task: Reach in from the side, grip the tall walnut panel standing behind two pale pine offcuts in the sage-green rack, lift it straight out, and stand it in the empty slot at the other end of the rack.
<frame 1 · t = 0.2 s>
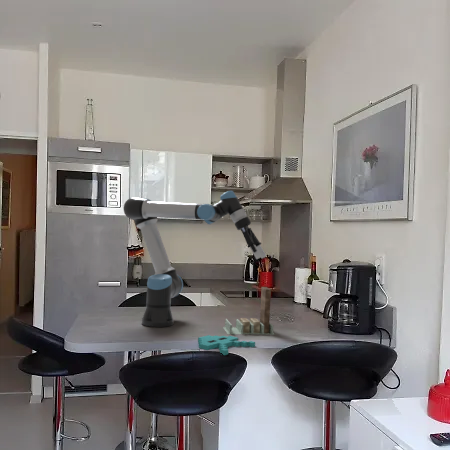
hand: (261, 257, 225), 35 cm above the worktop, tool tilted 35°, fingers open, 13 cm apart
pine offcut 1: (254, 330, 215), point 1 cm above the worktop, touching slot rack
alien figure: (221, 347, 191), on the worktop
walnut panel: (263, 330, 216), point 1 cm above the worktop, touching slot rack
slot rack: (248, 332, 215), on the worktop
pine offcut 2: (244, 330, 215), point 1 cm above the worktop, touching slot rack
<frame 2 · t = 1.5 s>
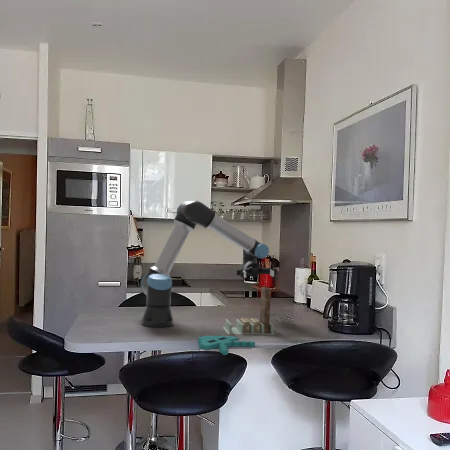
hand: (259, 274, 224), 26 cm above the worktop, tool horizontal, fingers open, 13 cm apart
nothing on the worktop moved.
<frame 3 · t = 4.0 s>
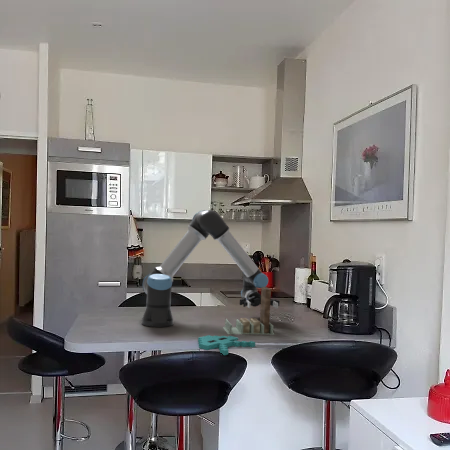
hand: (263, 305, 222), 12 cm above the worktop, tool horizontal, fingers open, 13 cm apart
nothing on the worktop moved.
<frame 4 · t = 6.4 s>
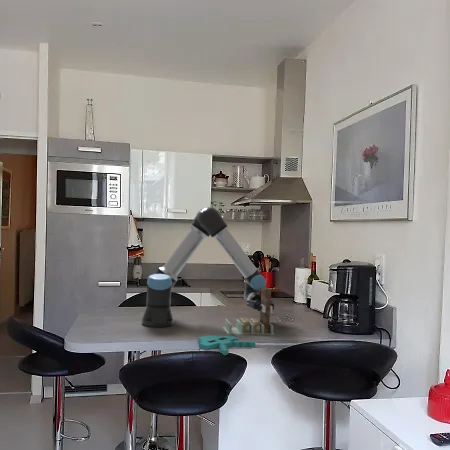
hand: (268, 309, 211), 12 cm above the worktop, tool horizontal, fingers closed on walnut panel, 2 cm apart
walnut panel: (263, 330, 216), point 1 cm above the worktop, touching gripper, slot rack
everything else where it was.
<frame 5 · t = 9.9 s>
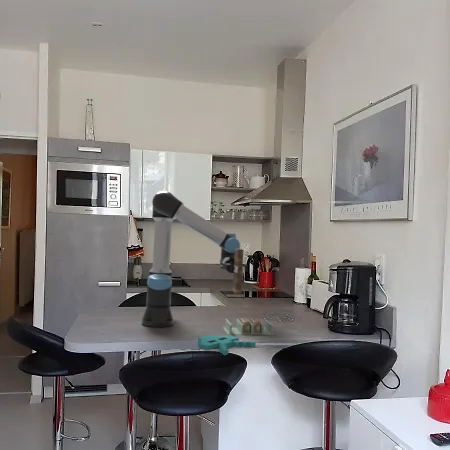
hand: (240, 269, 209), 30 cm above the worktop, tool horizontal, fingers closed on walnut panel, 2 cm apart
walnut panel: (236, 292, 214), point 19 cm above the worktop, touching gripper
everything else where it was.
when the fingers open (14 cm above the worktop, at t = 13.3 s): walnut panel drops 2 cm, resting on slot rack.
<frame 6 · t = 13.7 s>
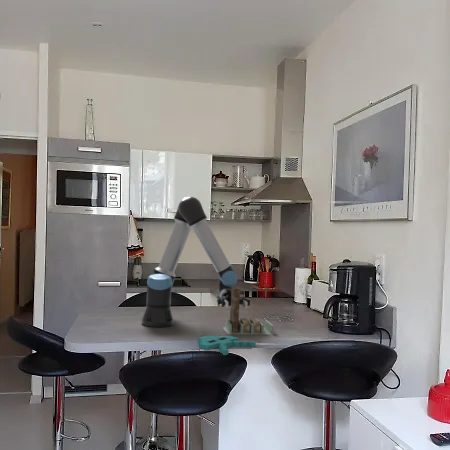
hand: (237, 305, 209), 14 cm above the worktop, tool horizontal, fingers open, 8 cm apart
walnut panel: (233, 330, 214), point 1 cm above the worktop, touching slot rack
everything else where it was.
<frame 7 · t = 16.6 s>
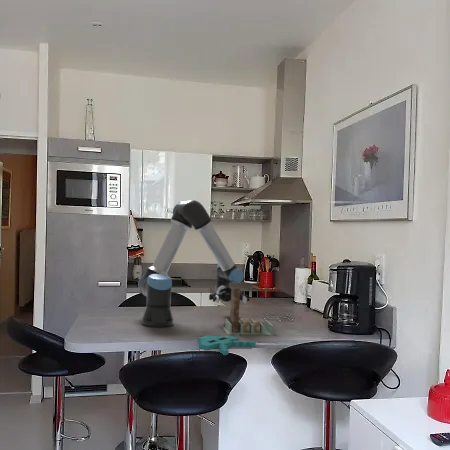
hand: (232, 300, 222), 14 cm above the worktop, tool horizontal, fingers open, 13 cm apart
nothing on the worktop moved.
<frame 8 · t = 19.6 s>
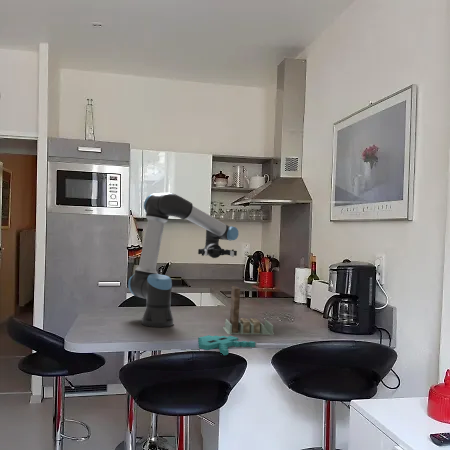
hand: (219, 253, 233), 35 cm above the worktop, tool horizontal, fingers open, 13 cm apart
nothing on the worktop moved.
at the end: walnut panel 0.1 cm from the target spot on the slot rack, point 1.0 cm above the slot rack's base; walnut panel tilted 0°; the gripper is holding nothing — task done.
